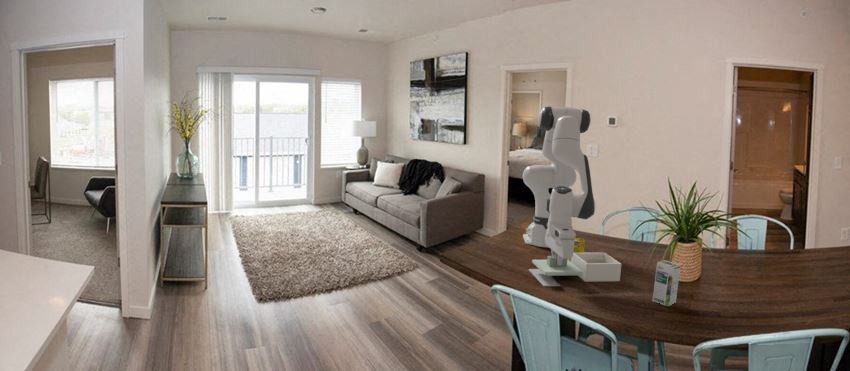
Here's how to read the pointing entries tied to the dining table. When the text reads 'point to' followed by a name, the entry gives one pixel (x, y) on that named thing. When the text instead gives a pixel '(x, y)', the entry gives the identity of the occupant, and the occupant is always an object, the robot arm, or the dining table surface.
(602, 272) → the storage box
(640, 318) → the dining table surface
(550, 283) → the rubber mat
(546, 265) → the lid
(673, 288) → the syrup box
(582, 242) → the supplement box
